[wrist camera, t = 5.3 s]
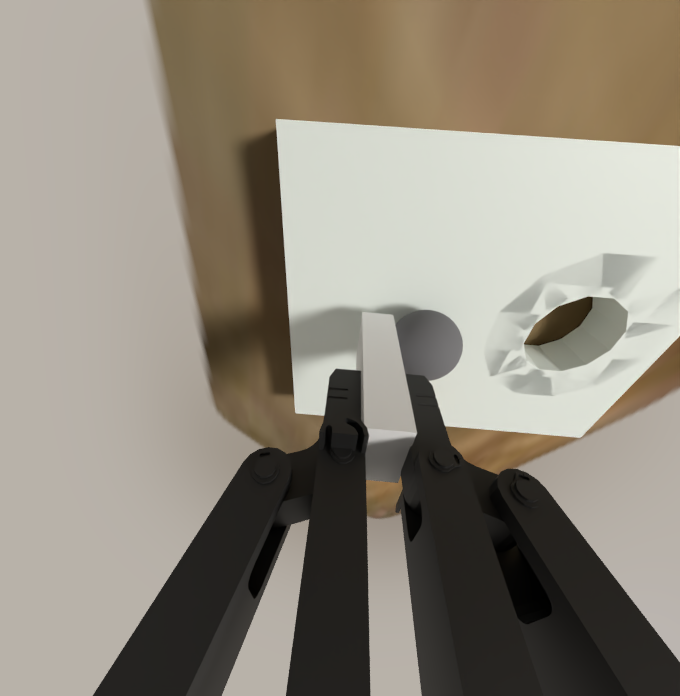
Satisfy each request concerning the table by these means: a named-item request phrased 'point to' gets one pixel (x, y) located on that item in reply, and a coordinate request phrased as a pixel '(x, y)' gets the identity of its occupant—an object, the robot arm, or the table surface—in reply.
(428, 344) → the ball
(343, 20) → the table surface
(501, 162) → the plate
